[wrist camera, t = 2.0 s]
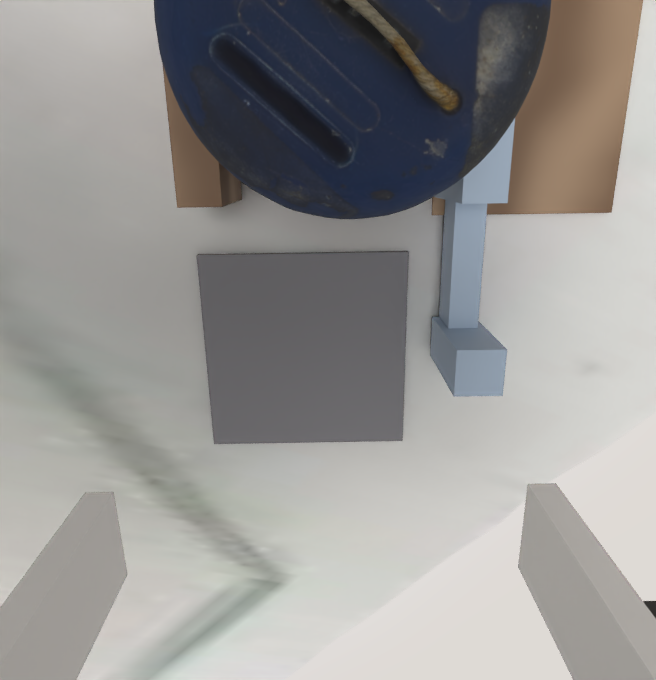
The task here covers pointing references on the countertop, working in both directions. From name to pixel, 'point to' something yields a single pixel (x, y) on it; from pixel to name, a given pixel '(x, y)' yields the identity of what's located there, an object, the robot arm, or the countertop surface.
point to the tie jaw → (470, 279)
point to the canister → (350, 92)
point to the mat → (305, 345)
